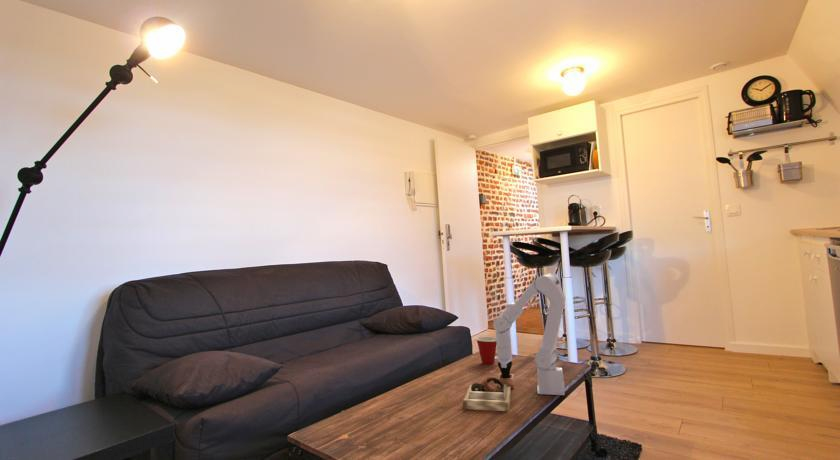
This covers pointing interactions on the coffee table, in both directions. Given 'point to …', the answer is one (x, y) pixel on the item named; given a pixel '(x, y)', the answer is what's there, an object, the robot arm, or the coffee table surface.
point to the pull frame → (494, 395)
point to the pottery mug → (484, 386)
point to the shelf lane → (487, 402)
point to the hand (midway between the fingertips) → (506, 380)
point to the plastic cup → (487, 349)
